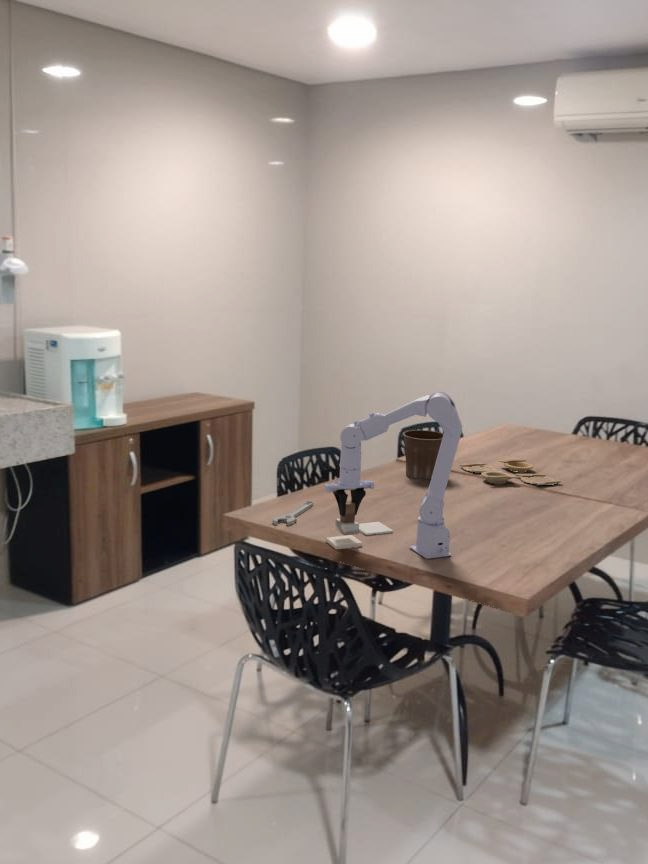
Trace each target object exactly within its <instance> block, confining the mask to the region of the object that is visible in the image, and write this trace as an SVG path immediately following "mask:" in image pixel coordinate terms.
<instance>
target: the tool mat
mask: <svg viewBox="0 0 648 864" xmlns="http://www.w3.org/2000/svg"><path fill="white" fill-rule="evenodd" d="M361 532H362V534H363V535H364V534H365V535H364V536H366V535H367V536H374V535H373V534H376V535H383V533H385V534H392V533H394V530H393V529H391V528H390V527H388V526H387V525H385V524H383V523H382V522H380V521H371V522H365V523H359V533H361ZM391 532H392V533H391Z"/></svg>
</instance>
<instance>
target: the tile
mask: <svg viewBox="0 0 648 864" xmlns="http://www.w3.org/2000/svg"><path fill="white" fill-rule="evenodd" d="M325 542H326V543H327V544H328V545H330V546H331V547H332V548H333V549H334V550H342V549H343V550H344V549H352V548H351V547H354V548H359V547H358V546H362V547H363V542H362V541H361V540H359V539H358V538H356V537H355V536H354V535H345V536H344V535H337V536H330V537H325Z"/></svg>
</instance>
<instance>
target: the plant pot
mask: <svg viewBox="0 0 648 864" xmlns="http://www.w3.org/2000/svg"><path fill="white" fill-rule="evenodd" d="M443 434H444V432H443V433H442V432H440V431H434V430H427V429H425V430H424V429H412V430H411V429H410V430H406V431H404V432H402V436H403V439H404V440H403V441H404V442H403V443H404V449H405V451H404V452H405V475H406V476H407V477H408V478H411V479H413V480H419V481H421V480H423V481H426V480H430V481H431V478H432V475H433V471H434V467H435V464H436V460H437V456H438V453H439V449H440V445H441V442H442V438H443Z"/></svg>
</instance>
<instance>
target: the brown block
mask: <svg viewBox="0 0 648 864" xmlns="http://www.w3.org/2000/svg"><path fill="white" fill-rule="evenodd" d="M355 504H356V503H354V502H352V501H351V499H350V500H347V501H346V513H345V516H344V517H343V516H341V515H340V514H339V516H340V518H335V524H334V525H335V527H334V528H335V530H336V531H338V532H339V533H340V534H342V536H346V535H352V536H354V535H359V533H360V531H359V524H360V523H359V522H357V521H356V520H355V519H356V518H355V517H356V515H355Z"/></svg>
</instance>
